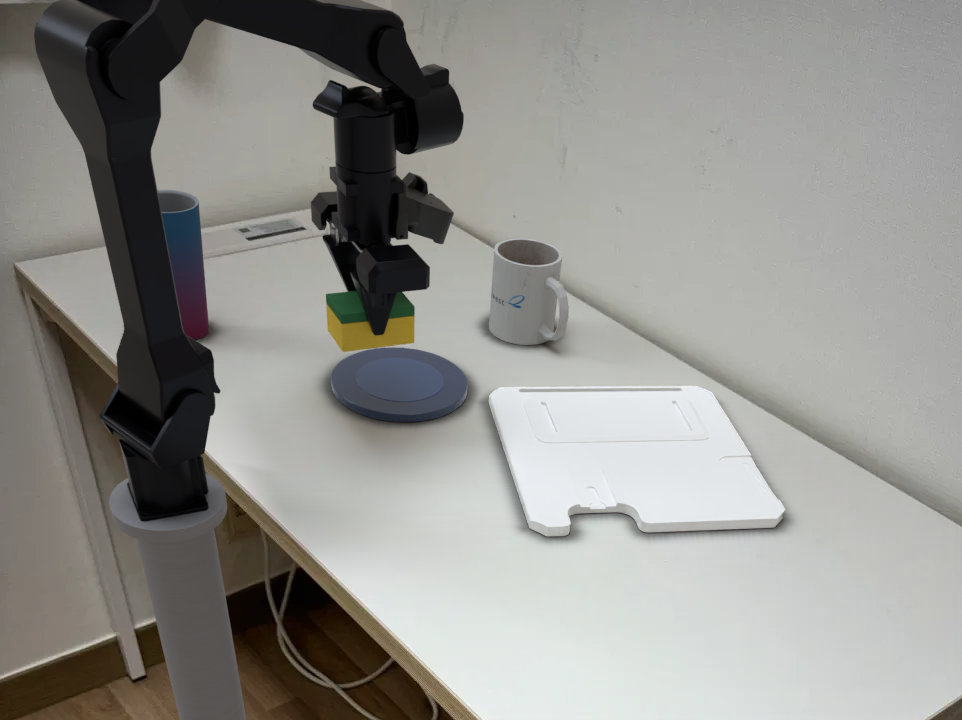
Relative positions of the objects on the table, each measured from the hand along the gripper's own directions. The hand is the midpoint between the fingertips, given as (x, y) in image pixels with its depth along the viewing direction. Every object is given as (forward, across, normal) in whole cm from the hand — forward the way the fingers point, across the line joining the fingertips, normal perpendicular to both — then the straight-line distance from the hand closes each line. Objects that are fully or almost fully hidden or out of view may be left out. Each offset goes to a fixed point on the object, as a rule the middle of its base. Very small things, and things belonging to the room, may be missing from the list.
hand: (370, 323), depth 104 cm
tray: (+11, -17, -24) cm, 32 cm away
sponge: (+2, 0, 0) cm, 2 cm away
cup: (+11, +25, +15) cm, 31 cm away
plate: (+11, +5, -5) cm, 13 cm away
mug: (+11, +13, -26) cm, 31 cm away
